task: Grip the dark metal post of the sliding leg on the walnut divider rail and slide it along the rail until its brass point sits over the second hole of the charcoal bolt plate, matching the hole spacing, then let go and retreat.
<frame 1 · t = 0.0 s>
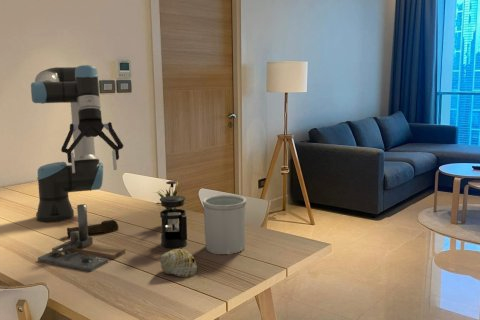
hand: (94, 171, 164), 28 cm above the table, tool tilted 20°, fingers open, 13 cm apart
utensil holder: (225, 248, 169), on the table
divider rail: (93, 251, 167), on the table
seashell: (177, 273, 149), on the table
hand tool: (93, 234, 187), on the table
house plant: (168, 226, 195), on the table
bolt plate: (72, 261, 158), on the table
french press: (174, 245, 173), on the table
sliding leg: (74, 229, 163), point 9 cm above the table, slide at 0.0 cm
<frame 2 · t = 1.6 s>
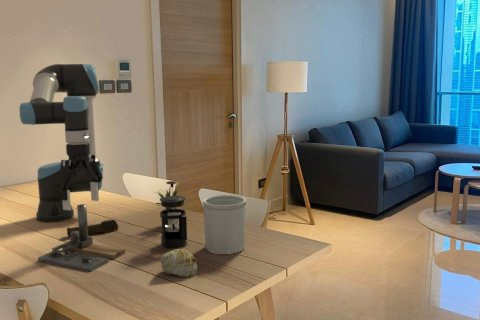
hand: (81, 205, 165), 16 cm above the table, tool pointing down, fingers open, 13 cm apart
nothing on the table moved.
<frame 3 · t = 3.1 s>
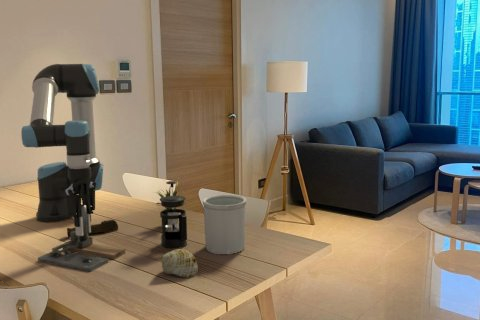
hand: (83, 233, 167), 6 cm above the table, tool pointing down, fingers closed on sliding leg, 3 cm apart
sliding leg: (74, 229, 163), point 9 cm above the table, slide at 0.0 cm, touching gripper
everything else where it was.
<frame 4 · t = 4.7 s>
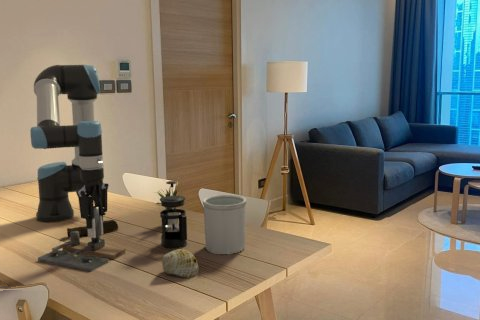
hand: (95, 235, 165), 6 cm above the table, tool pointing down, fingers closed on sliding leg, 3 cm apart
sliding leg: (86, 230, 161), point 9 cm above the table, slide at 5.3 cm, touching gripper
everything else where it was.
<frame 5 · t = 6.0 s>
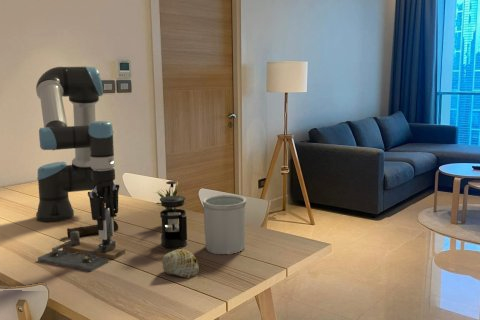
hand: (106, 237, 163), 6 cm above the table, tool pointing down, fingers closed on sliding leg, 3 cm apart
sliding leg: (98, 232, 159), point 9 cm above the table, slide at 10.0 cm, touching gripper
everything else where it was.
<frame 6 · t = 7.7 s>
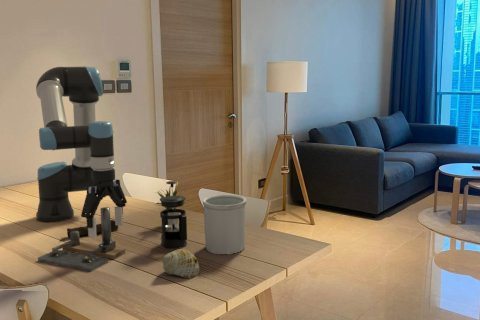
hand: (106, 230, 163), 8 cm above the table, tool pointing down, fingers open, 13 cm apart
sliding leg: (98, 232, 159), point 9 cm above the table, slide at 10.0 cm
everything else where it was.
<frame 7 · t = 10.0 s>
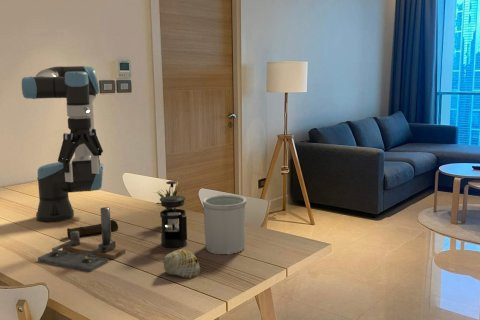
hand: (82, 177, 171), 24 cm above the table, tool pointing down, fingers open, 13 cm apart
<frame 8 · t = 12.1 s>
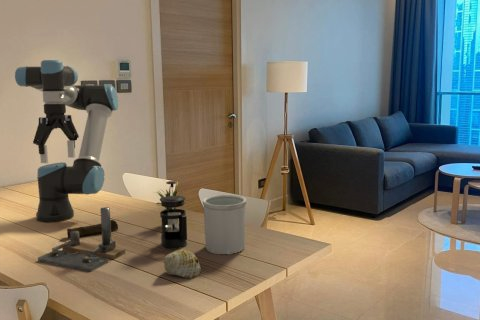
hand: (58, 160, 181), 29 cm above the table, tool pointing down, fingers open, 13 cm apart
at the end: sliding leg slide at 10.0 cm; the gripper is holding nothing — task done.
